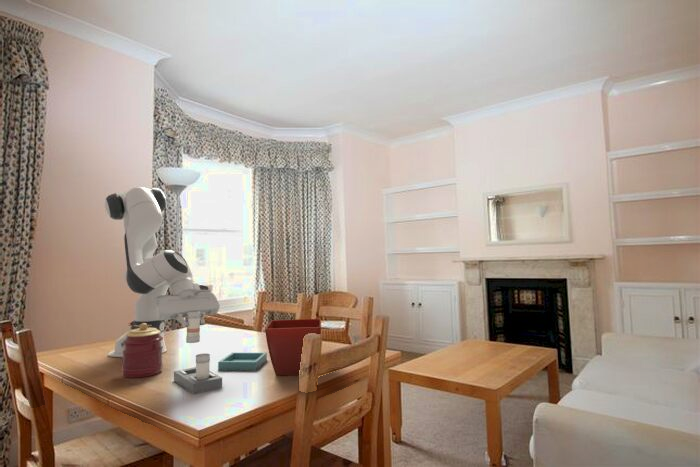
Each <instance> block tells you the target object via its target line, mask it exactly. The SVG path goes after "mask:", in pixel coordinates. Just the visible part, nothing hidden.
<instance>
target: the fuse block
mask: <svg viewBox="0 0 700 467" xmlns="http://www.w3.org/2000/svg"><path fill="white" fill-rule="evenodd" d="M173 381H174V382H176V383H177V384H178V385H180V386H181V387H183V388H184V389H185V390H187V392H189V393H191V394H192V395H195V394H200V393H204V392H209V391H213V390H216V389H217V390H218V389H221V388H223V377H222V376H220V375H218V374H217V373H214V372H212V371H211V370H209V379H205V380H200V381H197V379H196V366H195V367H190V368H183V369H179V370H174V371H173Z"/></svg>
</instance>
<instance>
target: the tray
mask: <svg viewBox="0 0 700 467" xmlns="http://www.w3.org/2000/svg"><path fill="white" fill-rule="evenodd" d="M267 361H268V352H231V353H229V354H227V355H226V356H225V357H223V358H222V359H220V360H219V361H218V362H217V364H218V365H217V371H242V372H243V371H254V372H256V371H258V370H259V368H261V366H263V364H265V363H266V362H267Z"/></svg>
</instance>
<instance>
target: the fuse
mask: <svg viewBox="0 0 700 467" xmlns="http://www.w3.org/2000/svg"><path fill="white" fill-rule="evenodd" d="M210 361H211V354H210V353H208V352H207V353H199V354H196V355H195V367H196V379H197V381H200V380H205V379H209V371H210Z"/></svg>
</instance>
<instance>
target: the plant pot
mask: <svg viewBox="0 0 700 467" xmlns="http://www.w3.org/2000/svg"><path fill="white" fill-rule="evenodd" d="M264 332H265V338H266V344H267V350H268V354H269V357H270V363H271V365H272V368H273V371H274V374H275V375H276V376H291V375H292V376H294V375H295V376H296V375H299V370H300V362H301V354H302V347H303V338H304V336H305V335H306V334H308V333H316V334H321V333H322V319H321V318H301V319H298V318H297V319H295V318H294V319H275V320H274V319H273V320H270V322H268V324H267V325H266V326H265V327H264ZM321 335H322V334H321Z"/></svg>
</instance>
